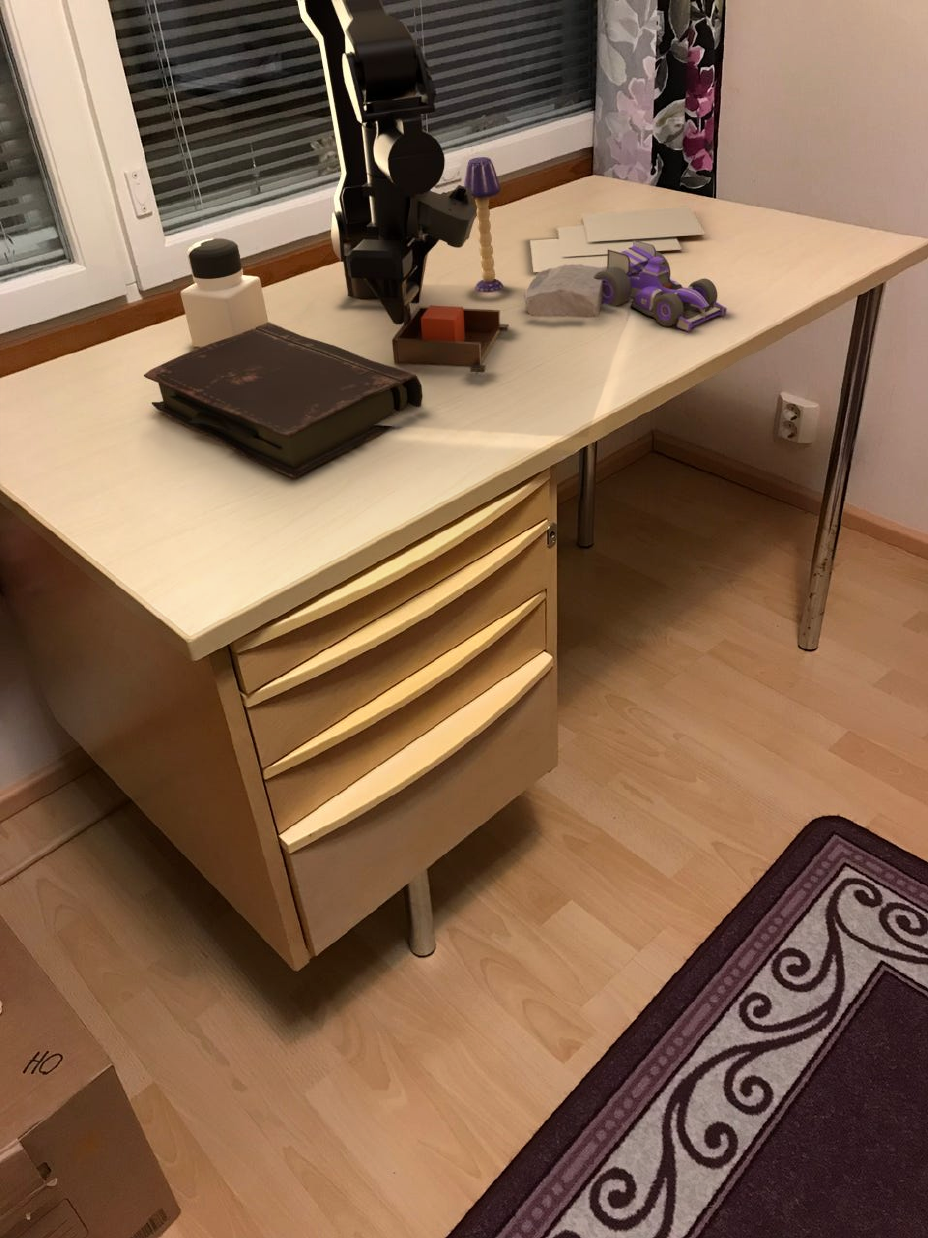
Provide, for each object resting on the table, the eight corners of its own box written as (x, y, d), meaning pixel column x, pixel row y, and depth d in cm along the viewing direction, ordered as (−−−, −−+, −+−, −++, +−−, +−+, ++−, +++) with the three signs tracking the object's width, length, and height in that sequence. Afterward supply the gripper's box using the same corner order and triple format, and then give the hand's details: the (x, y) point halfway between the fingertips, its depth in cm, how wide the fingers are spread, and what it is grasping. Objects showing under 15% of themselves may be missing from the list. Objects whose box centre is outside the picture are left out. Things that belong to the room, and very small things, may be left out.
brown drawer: (390, 365, 115) (384, 306, 111) (415, 330, 123) (410, 274, 118) (480, 371, 113) (478, 311, 108) (500, 335, 120) (499, 277, 116)
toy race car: (681, 336, 118) (684, 281, 114) (590, 305, 127) (590, 253, 123) (733, 312, 122) (739, 259, 118) (642, 284, 132) (644, 234, 128)
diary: (280, 357, 121) (272, 317, 118) (425, 412, 106) (420, 368, 103) (147, 414, 111) (135, 372, 108) (287, 484, 96) (278, 437, 93)
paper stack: (717, 260, 136) (717, 255, 136) (533, 272, 138) (533, 267, 137) (689, 210, 155) (689, 205, 154) (527, 221, 156) (527, 216, 156)
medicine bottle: (271, 331, 128) (252, 235, 120) (239, 353, 123) (217, 254, 115) (225, 326, 130) (204, 231, 123) (192, 347, 125) (168, 250, 118)
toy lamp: (464, 298, 132) (455, 163, 122) (477, 285, 136) (469, 153, 125) (498, 300, 131) (492, 164, 120) (511, 288, 134) (505, 154, 124)
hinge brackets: (469, 381, 112) (468, 370, 111) (497, 332, 122) (497, 321, 121) (483, 382, 111) (482, 370, 110) (510, 333, 122) (510, 321, 121)
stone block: (525, 336, 125) (604, 321, 121) (516, 298, 122) (597, 282, 119) (539, 304, 134) (613, 289, 131) (531, 268, 131) (607, 252, 128)
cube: (423, 351, 116) (420, 317, 114) (432, 337, 119) (430, 304, 117) (456, 353, 115) (454, 319, 113) (464, 339, 118) (463, 306, 116)
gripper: (443, 197, 98) (452, 349, 107) (487, 148, 112) (492, 286, 121) (336, 195, 100) (355, 344, 110) (393, 147, 114) (405, 283, 124)
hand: (406, 313), depth 116 cm, fingers closed on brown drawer, 6 cm apart
